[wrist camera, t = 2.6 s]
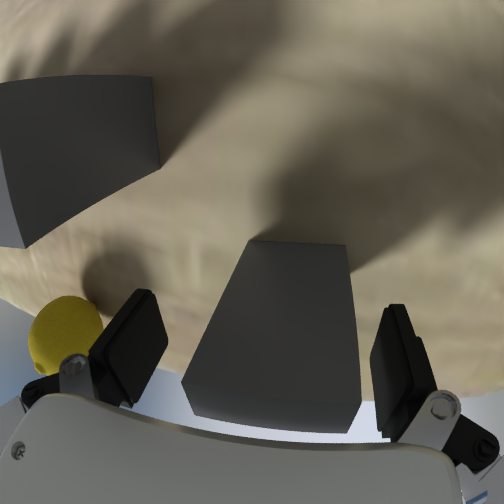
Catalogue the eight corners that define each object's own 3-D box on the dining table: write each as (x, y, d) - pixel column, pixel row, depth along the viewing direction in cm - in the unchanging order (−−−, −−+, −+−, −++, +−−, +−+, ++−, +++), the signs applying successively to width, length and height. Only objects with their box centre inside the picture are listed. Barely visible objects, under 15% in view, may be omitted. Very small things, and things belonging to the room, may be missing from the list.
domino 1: (151, 77, 12) (-6, 84, 4) (160, 168, 14) (25, 248, 6) (120, 85, 12) (-29, 106, 4) (130, 171, 15) (-1, 246, 7)
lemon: (71, 264, 19) (4, 327, 12) (125, 303, 20) (65, 381, 13) (69, 306, 22) (17, 363, 15) (116, 340, 23) (69, 407, 16)
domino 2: (248, 240, 15) (180, 382, 7) (345, 245, 14) (361, 402, 6) (250, 272, 16) (194, 415, 8) (341, 278, 15) (346, 433, 7)
